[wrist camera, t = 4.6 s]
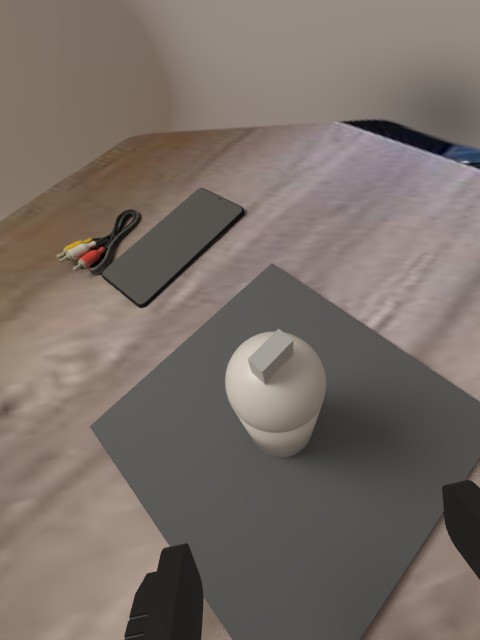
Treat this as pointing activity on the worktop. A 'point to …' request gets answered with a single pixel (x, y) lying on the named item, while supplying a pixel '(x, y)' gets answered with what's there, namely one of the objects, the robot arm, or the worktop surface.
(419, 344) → the worktop surface
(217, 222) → the smartphone
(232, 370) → the white pump bottle
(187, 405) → the mat
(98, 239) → the composite cable
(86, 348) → the worktop surface
